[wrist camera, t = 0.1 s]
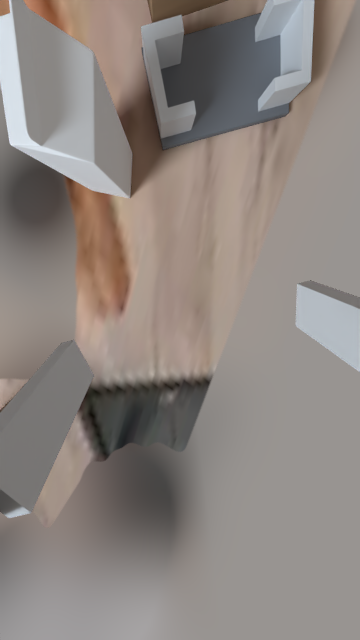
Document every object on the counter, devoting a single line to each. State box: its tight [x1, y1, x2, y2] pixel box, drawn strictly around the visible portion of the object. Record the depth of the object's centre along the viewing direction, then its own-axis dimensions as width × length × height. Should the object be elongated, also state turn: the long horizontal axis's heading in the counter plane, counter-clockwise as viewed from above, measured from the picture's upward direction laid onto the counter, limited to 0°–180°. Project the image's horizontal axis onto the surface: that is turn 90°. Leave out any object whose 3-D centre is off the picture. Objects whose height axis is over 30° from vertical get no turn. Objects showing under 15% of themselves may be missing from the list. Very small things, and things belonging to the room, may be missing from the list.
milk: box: [0, 0, 133, 198], centre depth 20 cm, size 6×6×22 cm
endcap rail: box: [141, 0, 314, 150], centre depth 25 cm, size 10×19×6 cm, turn 103°
